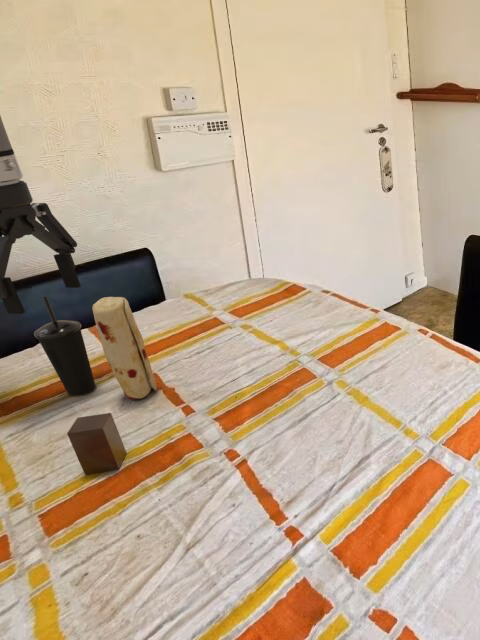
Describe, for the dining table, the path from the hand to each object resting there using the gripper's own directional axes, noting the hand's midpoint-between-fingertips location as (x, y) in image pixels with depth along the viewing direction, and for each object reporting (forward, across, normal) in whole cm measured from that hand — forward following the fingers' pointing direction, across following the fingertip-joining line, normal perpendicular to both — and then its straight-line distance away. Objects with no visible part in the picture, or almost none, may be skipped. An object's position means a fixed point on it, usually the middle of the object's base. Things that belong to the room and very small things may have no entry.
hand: (46, 299), depth 117 cm
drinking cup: (+20, 0, 0) cm, 20 cm away
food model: (+20, 0, -13) cm, 23 cm away
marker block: (+20, -23, -23) cm, 38 cm away
